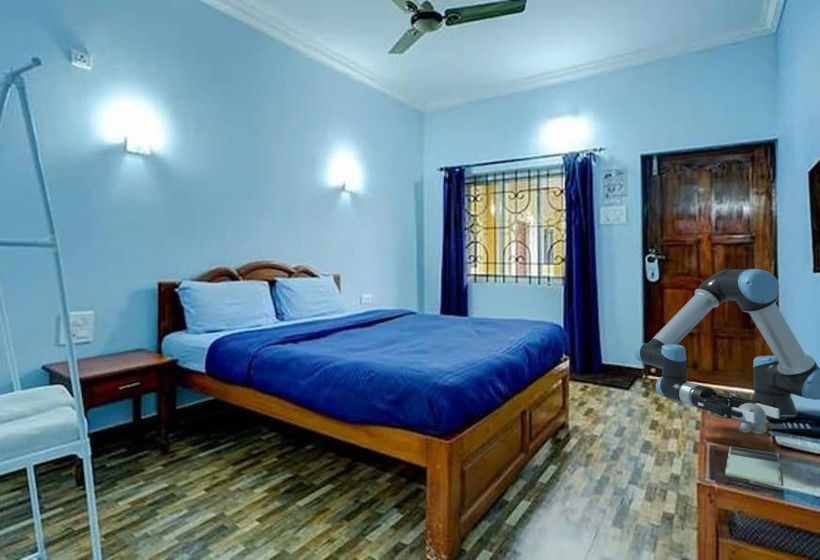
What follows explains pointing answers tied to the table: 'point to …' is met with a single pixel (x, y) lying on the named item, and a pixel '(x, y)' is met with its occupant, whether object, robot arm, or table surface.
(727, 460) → the board
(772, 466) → the pad
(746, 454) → the dark gray parallel strips
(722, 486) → the table surface
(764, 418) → the chubby cartoon animal
